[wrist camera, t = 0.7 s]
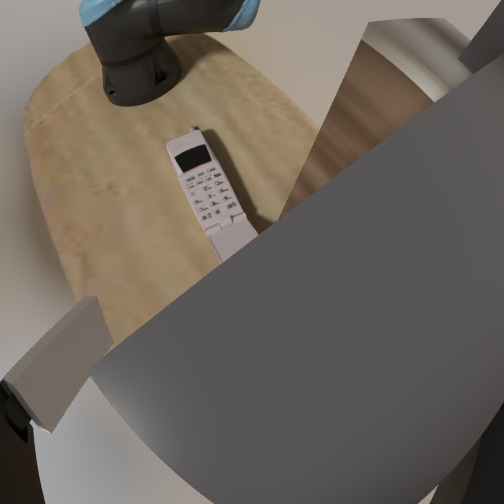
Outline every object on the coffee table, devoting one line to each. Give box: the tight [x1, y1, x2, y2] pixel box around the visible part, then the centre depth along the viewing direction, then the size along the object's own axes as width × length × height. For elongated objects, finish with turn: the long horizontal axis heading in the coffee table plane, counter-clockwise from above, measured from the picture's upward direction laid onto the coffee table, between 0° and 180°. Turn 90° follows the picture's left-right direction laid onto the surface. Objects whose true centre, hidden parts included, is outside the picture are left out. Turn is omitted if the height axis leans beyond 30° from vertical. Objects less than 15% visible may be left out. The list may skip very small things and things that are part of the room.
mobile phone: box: [166, 126, 259, 264], centre depth 34 cm, size 6×6×25 cm
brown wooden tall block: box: [278, 18, 473, 220], centre depth 21 cm, size 10×12×30 cm
